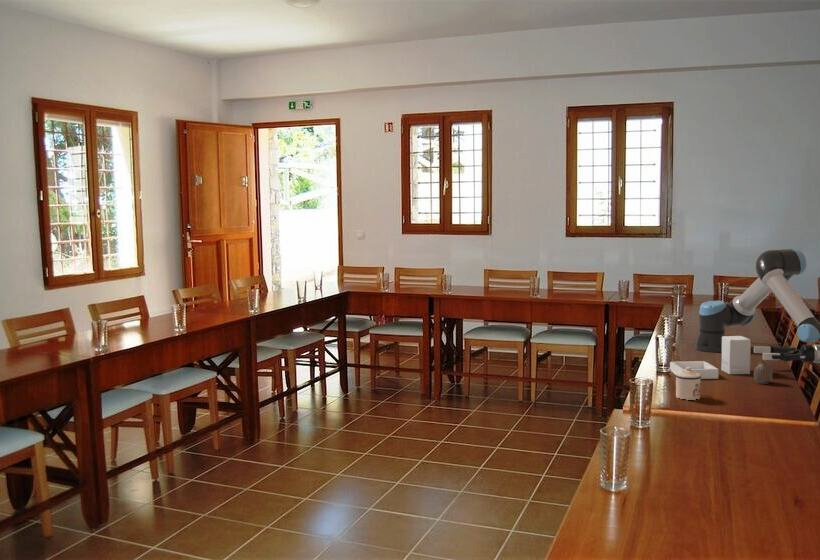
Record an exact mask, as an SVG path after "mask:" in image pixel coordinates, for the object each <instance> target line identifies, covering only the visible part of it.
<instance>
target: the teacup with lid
mask: <svg viewBox="0 0 820 560" xmlns="http://www.w3.org/2000/svg"><path fill="white" fill-rule="evenodd" d="M701 380H702V379H701V375H700V374H699V373H697V372H695V371H693V370H691V368H690V367H686V370H683V371H681V372H677V373H676V375H675V398H676V399H678V398H680V399H679V400H681V399H686V400H685V401H688V400H694V401H697V400H696V399H698V400H700V399H701Z"/></svg>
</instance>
